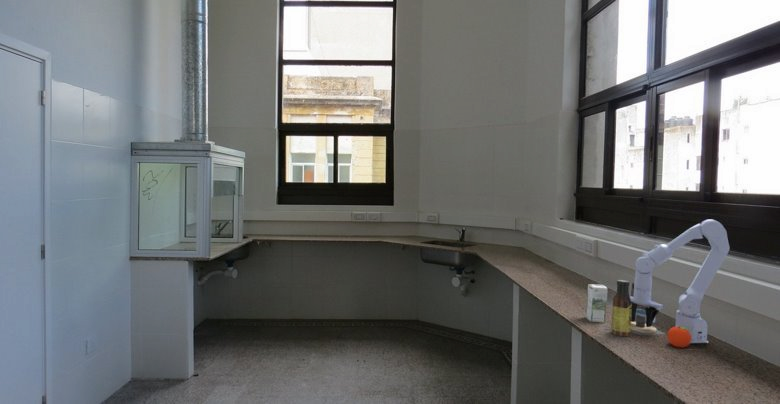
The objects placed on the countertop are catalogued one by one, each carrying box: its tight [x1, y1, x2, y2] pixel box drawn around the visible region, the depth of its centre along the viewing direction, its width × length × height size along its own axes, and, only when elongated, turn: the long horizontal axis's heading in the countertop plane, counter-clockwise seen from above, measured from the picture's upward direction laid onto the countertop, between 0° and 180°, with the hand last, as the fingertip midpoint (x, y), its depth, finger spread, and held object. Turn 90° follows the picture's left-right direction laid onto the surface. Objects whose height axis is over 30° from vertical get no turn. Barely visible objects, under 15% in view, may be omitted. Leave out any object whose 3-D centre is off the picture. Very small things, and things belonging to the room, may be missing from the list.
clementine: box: [666, 326, 695, 348], centre depth 151 cm, size 8×7×7 cm
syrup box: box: [585, 283, 609, 323], centre depth 178 cm, size 6×6×14 cm
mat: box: [630, 329, 666, 336], centre depth 169 cm, size 12×12×1 cm
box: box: [630, 282, 649, 310], centre depth 196 cm, size 6×4×12 cm
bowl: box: [634, 309, 657, 324], centre depth 181 cm, size 9×9×4 cm
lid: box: [631, 315, 657, 335], centre depth 169 cm, size 11×11×5 cm
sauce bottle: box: [611, 279, 632, 338], centre depth 162 cm, size 6×6×20 cm
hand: (640, 323), depth 169 cm, fingers open, 6 cm apart
